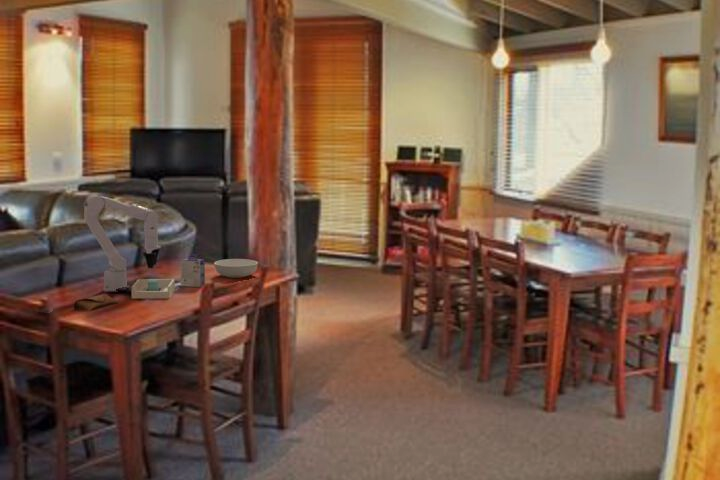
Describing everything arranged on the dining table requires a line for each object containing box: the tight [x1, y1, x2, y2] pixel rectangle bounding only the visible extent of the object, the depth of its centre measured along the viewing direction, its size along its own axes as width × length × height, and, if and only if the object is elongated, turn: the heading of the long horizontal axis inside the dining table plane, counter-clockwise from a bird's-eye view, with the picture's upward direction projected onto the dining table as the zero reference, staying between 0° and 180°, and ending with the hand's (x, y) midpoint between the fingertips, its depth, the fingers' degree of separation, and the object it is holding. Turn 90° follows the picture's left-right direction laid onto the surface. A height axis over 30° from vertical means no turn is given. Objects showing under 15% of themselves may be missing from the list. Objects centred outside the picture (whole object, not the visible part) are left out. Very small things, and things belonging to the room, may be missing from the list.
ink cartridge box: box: [180, 253, 206, 288], centre depth 396 cm, size 10×6×14 cm, turn 78°
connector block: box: [148, 280, 159, 291], centre depth 379 cm, size 4×4×6 cm
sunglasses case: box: [73, 292, 120, 312], centre depth 358 cm, size 18×7×7 cm, turn 154°
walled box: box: [131, 278, 176, 299], centre depth 379 cm, size 16×16×5 cm
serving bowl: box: [213, 258, 259, 279], centre depth 418 cm, size 21×21×7 cm
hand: (152, 266), depth 392 cm, fingers open, 7 cm apart
